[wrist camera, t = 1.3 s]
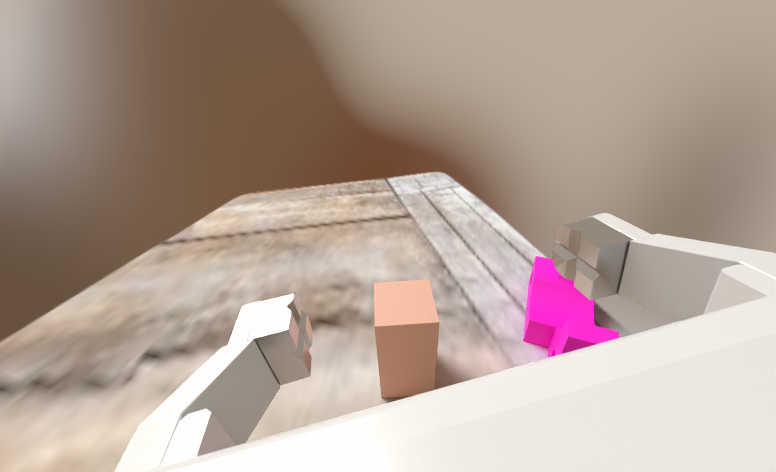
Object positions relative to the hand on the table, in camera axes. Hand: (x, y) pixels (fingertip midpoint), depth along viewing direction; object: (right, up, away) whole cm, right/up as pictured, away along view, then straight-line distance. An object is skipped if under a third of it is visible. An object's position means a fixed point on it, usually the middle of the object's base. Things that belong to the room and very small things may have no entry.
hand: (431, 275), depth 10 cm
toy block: (+17, -10, +26) cm, 33 cm away
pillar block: (0, -13, +22) cm, 25 cm away
